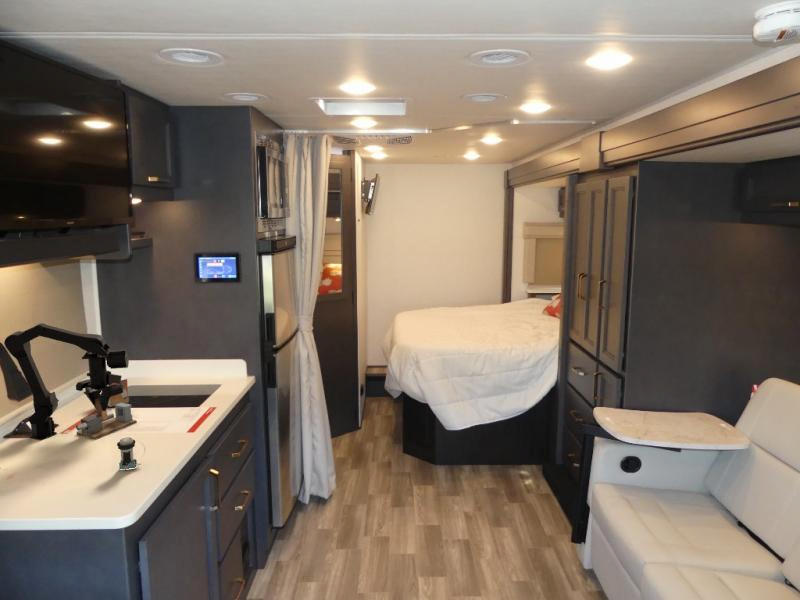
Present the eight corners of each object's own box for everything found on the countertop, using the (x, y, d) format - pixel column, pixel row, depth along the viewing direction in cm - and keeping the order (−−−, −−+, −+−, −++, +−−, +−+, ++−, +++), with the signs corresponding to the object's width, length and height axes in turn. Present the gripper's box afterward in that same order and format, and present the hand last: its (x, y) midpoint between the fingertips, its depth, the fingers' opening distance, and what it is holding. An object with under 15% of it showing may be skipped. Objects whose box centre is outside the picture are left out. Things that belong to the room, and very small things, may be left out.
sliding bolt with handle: (81, 431, 210) (79, 407, 208) (75, 430, 211) (73, 405, 210) (115, 418, 222) (113, 395, 221) (109, 417, 223) (107, 394, 222)
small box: (110, 407, 244) (108, 383, 242) (103, 404, 247) (101, 380, 246) (129, 402, 250) (127, 378, 249) (122, 399, 254) (120, 376, 252)
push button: (143, 464, 191) (141, 435, 190) (138, 472, 186) (136, 442, 184) (122, 465, 190) (120, 436, 189) (116, 473, 185) (114, 443, 184)
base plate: (95, 439, 211) (95, 436, 211) (76, 434, 215) (76, 432, 215) (136, 422, 227) (136, 420, 227) (118, 418, 231) (118, 416, 231)
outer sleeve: (89, 435, 212) (88, 421, 211) (81, 433, 214) (80, 419, 213) (102, 430, 217) (101, 416, 216) (95, 428, 219) (94, 414, 218)
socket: (126, 422, 225) (124, 407, 224) (115, 419, 228) (114, 404, 227) (132, 419, 228) (131, 404, 227) (122, 417, 230) (121, 402, 229)
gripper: (134, 367, 219) (137, 407, 221) (99, 361, 227) (103, 399, 229) (107, 375, 209) (111, 416, 211) (73, 368, 217) (76, 408, 219)
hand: (101, 410), depth 218 cm, fingers closed on sliding bolt with handle, 3 cm apart
